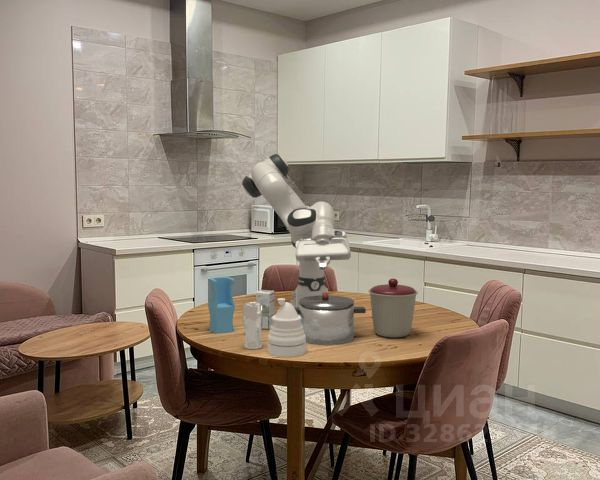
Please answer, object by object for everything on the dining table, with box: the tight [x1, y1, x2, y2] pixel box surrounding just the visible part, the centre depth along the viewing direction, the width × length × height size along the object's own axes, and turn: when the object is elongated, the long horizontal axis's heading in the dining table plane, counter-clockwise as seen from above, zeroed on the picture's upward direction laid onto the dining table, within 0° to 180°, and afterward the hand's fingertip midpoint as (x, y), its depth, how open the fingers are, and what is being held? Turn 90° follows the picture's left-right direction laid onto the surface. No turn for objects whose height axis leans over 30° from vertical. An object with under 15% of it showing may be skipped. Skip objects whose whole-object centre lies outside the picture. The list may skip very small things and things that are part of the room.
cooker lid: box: [299, 292, 355, 309], centre depth 214 cm, size 20×20×3 cm
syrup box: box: [255, 289, 275, 331], centre depth 229 cm, size 6×6×14 cm
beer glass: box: [242, 301, 263, 350], centre depth 202 cm, size 7×7×15 cm
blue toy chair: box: [207, 276, 236, 334], centre depth 224 cm, size 8×8×20 cm
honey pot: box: [267, 297, 307, 358], centre depth 197 cm, size 13×13×18 cm
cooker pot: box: [294, 304, 366, 346], centre depth 216 cm, size 22×28×12 cm
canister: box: [368, 278, 419, 339], centre depth 219 cm, size 18×18×21 cm
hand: (323, 268), depth 212 cm, fingers closed
